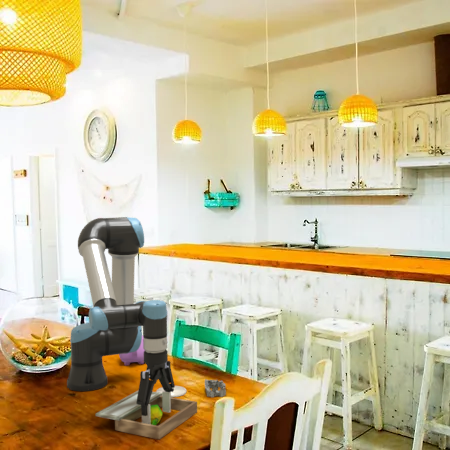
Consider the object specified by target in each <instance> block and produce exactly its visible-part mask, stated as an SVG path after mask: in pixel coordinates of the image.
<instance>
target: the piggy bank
mask: <svg viewBox="0 0 450 450" xmlns="http://www.w3.org/2000/svg"><path fill="white" fill-rule="evenodd" d="M144 351H145V350H144V349H143V334H142V340H141V345H140V347H139V349H138V350H137V351H135V352H131V353H128V354H118V356H119V358H120V360H121V362H123V363H124V366H130V364H131V363H137V364H139V365H144V364H145V363H144Z"/></svg>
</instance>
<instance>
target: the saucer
mask: <svg viewBox="0 0 450 450" xmlns="http://www.w3.org/2000/svg"><path fill="white" fill-rule="evenodd" d="M173 389H174V391H173V392H171V398H177V397H178V398H179V397H181V396H184V395H186V393H187V389H186V388H185V387H184V386H180V385H175V387H174V388H173ZM163 391H164V389H163V387H162V386H161V387H159V388H158V389H156V391H155V392H159V393H162V392H163Z"/></svg>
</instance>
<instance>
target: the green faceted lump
mask: <svg viewBox="0 0 450 450" xmlns="http://www.w3.org/2000/svg"><path fill="white" fill-rule="evenodd" d="M150 414H151V425H156V426H158V424H159V422H160V421H161V418H162V417H163V410H162V409H161V407H159V406H158V405H151V406H150Z"/></svg>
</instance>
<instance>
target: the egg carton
mask: <svg viewBox="0 0 450 450" xmlns="http://www.w3.org/2000/svg"><path fill="white" fill-rule="evenodd" d="M226 387H227V386H226V383H224V381H223V380H218V379H205V378H204V388H205V389H204V390H205V393H206V397H210V398H214V397H220V398H221V397H224V396H226V395H227V390H226Z"/></svg>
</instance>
